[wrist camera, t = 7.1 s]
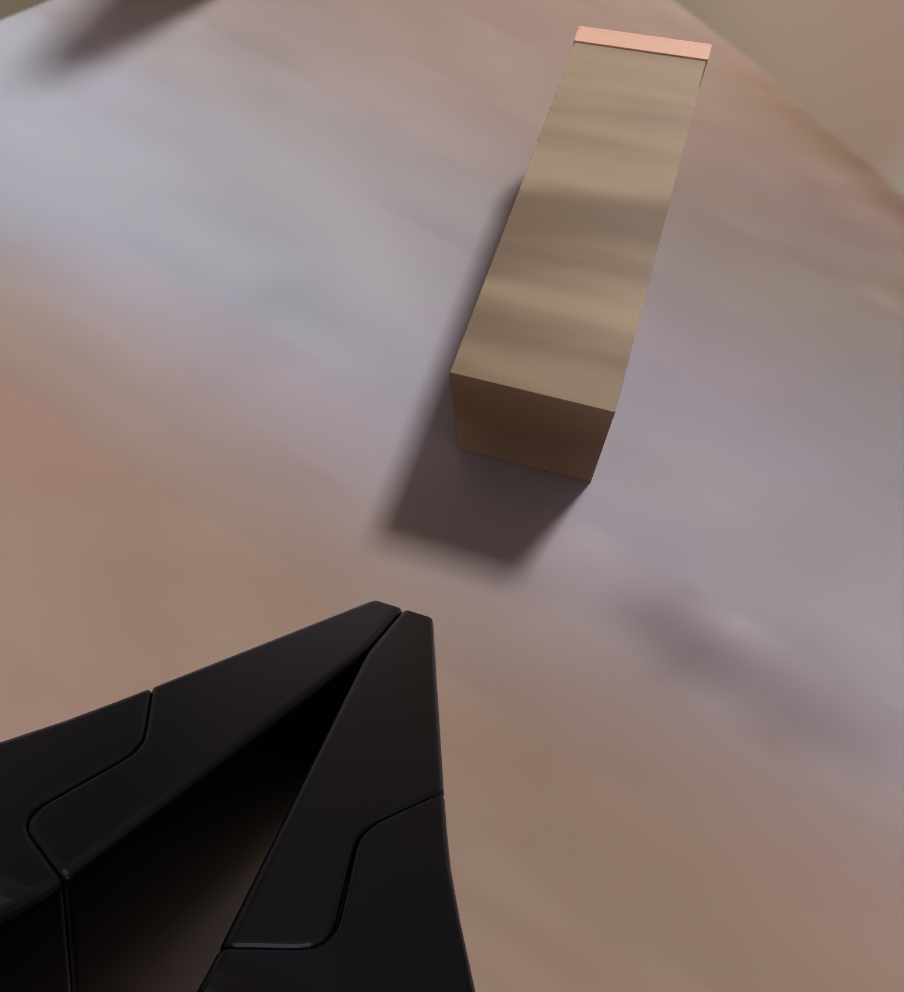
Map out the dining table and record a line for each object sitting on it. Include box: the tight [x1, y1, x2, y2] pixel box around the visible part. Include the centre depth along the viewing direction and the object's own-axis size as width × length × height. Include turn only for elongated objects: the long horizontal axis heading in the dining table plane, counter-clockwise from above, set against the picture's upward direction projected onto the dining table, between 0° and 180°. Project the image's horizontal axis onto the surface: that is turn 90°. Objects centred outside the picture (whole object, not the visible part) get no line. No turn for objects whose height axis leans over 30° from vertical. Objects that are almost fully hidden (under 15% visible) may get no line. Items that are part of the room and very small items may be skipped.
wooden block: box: [450, 26, 712, 483], centre depth 22 cm, size 5×5×15 cm
